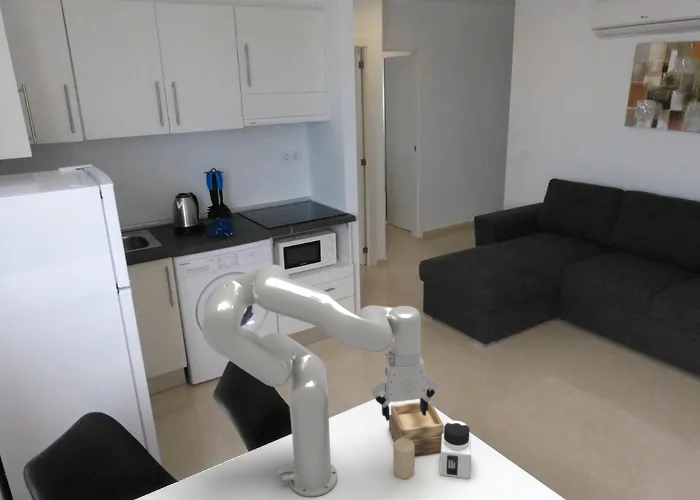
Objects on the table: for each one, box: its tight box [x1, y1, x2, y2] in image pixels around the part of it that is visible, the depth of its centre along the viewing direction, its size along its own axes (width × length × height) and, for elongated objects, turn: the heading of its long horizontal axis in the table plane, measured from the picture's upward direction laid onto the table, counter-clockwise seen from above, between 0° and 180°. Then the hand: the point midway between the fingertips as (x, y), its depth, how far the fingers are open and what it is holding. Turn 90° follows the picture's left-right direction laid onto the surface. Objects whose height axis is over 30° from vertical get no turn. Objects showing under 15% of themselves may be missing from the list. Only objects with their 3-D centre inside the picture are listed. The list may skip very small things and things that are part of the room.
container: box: [439, 420, 472, 479], centre depth 139 cm, size 8×8×13 cm
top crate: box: [390, 400, 445, 440], centre depth 150 cm, size 12×12×4 cm
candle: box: [392, 437, 415, 480], centre depth 138 cm, size 6×6×10 cm
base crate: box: [388, 414, 442, 457], centre depth 151 cm, size 13×13×5 cm
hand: (404, 415), depth 134 cm, fingers open, 9 cm apart
